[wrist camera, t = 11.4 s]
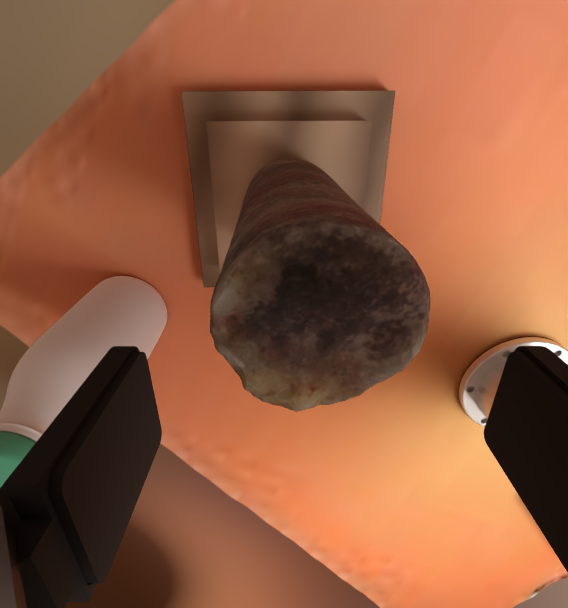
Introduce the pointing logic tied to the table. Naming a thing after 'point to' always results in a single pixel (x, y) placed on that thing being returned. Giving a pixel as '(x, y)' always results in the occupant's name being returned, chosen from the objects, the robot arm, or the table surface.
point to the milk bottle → (74, 358)
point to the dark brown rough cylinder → (314, 293)
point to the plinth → (278, 110)
